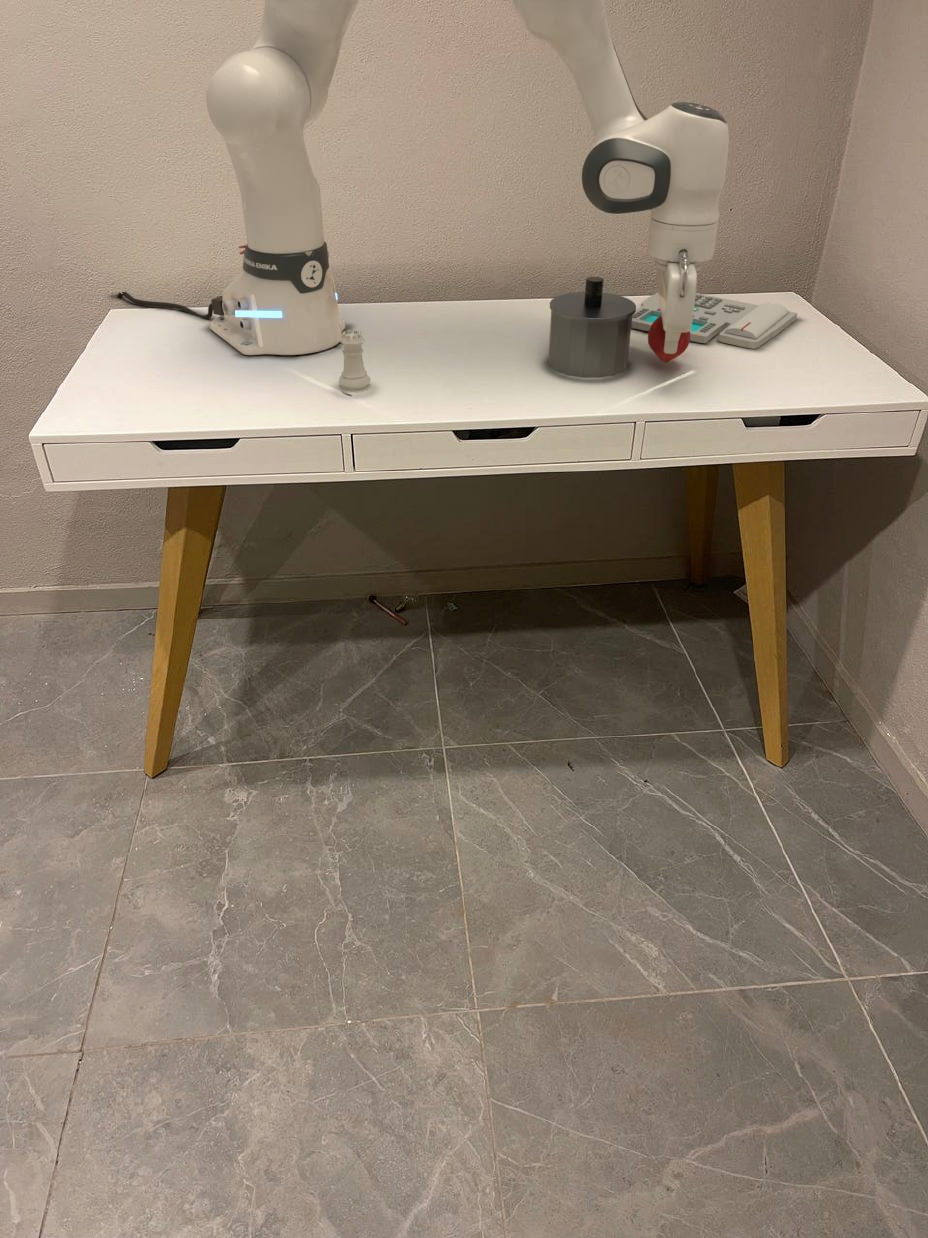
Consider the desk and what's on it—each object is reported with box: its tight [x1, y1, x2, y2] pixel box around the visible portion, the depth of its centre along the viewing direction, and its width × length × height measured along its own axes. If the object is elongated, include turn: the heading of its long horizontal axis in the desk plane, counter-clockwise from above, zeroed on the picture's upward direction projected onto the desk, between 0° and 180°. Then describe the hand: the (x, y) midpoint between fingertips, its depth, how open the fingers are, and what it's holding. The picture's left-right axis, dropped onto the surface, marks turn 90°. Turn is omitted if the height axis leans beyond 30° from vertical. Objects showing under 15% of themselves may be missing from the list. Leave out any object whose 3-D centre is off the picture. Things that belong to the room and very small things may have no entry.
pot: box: [547, 310, 632, 379], centre depth 138 cm, size 11×11×8 cm
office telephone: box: [631, 291, 798, 350], centre depth 155 cm, size 23×3×20 cm
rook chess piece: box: [338, 329, 372, 397], centre depth 130 cm, size 4×4×8 cm
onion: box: [647, 316, 691, 363], centre depth 136 cm, size 6×6×8 cm
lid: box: [549, 276, 637, 322], centre depth 134 cm, size 12×12×5 cm
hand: (668, 342), depth 137 cm, fingers closed on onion, 6 cm apart
